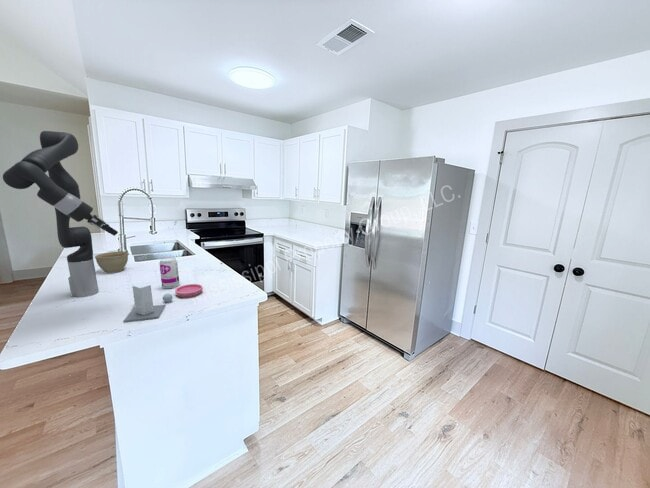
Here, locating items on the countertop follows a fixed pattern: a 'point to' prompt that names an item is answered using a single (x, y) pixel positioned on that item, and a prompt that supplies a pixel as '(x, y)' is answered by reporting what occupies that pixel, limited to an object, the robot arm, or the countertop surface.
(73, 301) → the countertop surface
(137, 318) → the slate coaster
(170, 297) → the grey ball
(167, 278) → the supplement can
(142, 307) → the skincare box
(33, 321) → the countertop surface
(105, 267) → the planter bowl
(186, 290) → the saucer
